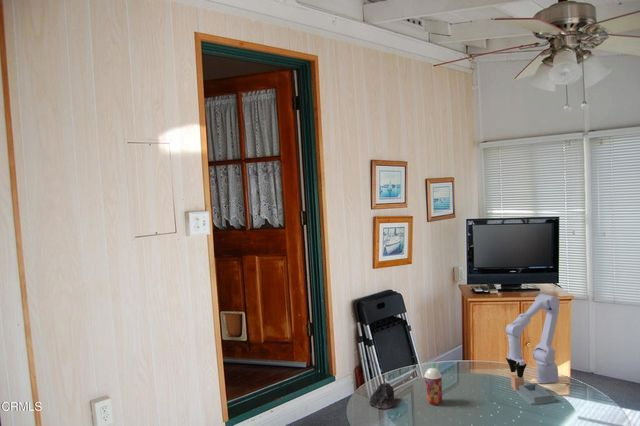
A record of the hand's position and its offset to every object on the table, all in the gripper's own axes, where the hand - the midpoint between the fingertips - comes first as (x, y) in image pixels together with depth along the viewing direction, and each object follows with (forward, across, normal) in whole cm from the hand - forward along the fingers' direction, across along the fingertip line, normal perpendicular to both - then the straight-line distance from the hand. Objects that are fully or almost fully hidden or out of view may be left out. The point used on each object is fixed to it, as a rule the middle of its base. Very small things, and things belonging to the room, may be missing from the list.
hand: (516, 374), depth 259 cm
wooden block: (+7, 0, 0) cm, 7 cm away
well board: (+7, +12, +3) cm, 14 cm away
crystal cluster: (+8, -2, -68) cm, 69 cm away
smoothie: (+7, +5, -44) cm, 45 cm away
